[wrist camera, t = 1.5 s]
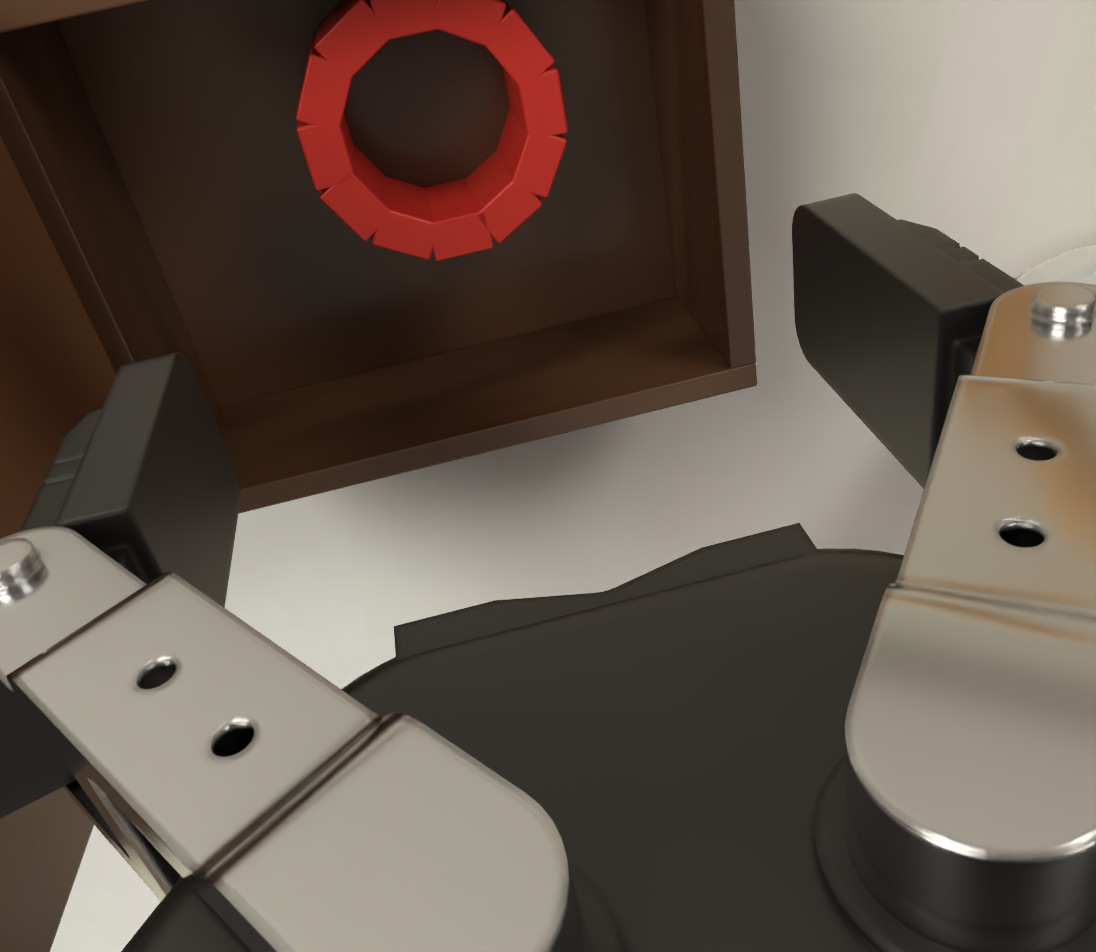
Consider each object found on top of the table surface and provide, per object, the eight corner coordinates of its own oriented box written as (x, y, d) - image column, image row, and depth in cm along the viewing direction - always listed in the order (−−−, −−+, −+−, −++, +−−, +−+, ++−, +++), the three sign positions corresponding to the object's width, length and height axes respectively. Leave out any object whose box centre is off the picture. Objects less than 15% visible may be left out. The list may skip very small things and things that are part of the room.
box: (647, -165, 23) (724, -167, 19) (693, 302, 30) (757, 386, 26) (12, -28, 23) (-74, 6, 18) (207, 420, 30) (182, 528, 25)
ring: (520, -57, 24) (541, -45, 21) (561, 192, 27) (584, 227, 25) (268, -1, 23) (260, 17, 21) (344, 243, 27) (344, 283, 24)
